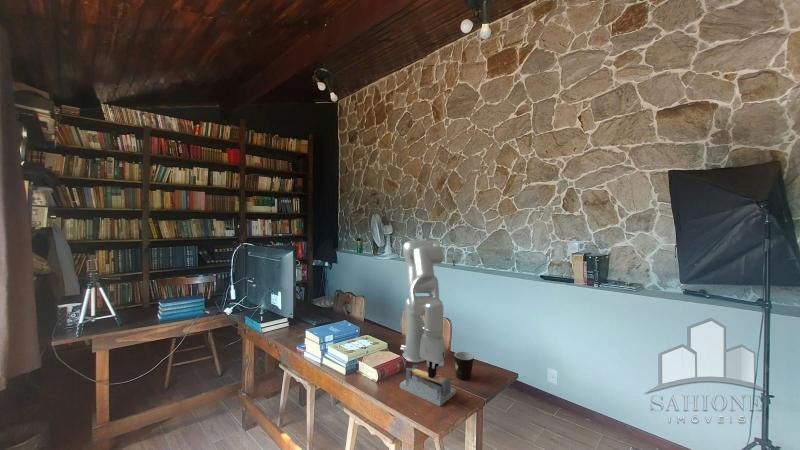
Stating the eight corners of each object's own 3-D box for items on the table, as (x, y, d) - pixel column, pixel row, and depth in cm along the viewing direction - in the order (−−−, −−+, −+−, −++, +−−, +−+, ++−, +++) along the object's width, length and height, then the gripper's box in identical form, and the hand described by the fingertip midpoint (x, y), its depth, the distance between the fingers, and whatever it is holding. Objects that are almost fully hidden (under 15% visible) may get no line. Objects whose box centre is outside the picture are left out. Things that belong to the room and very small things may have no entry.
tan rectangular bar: (408, 373, 142) (408, 369, 142) (413, 370, 145) (413, 366, 145) (442, 385, 132) (442, 381, 132) (446, 382, 134) (446, 378, 134)
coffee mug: (473, 383, 146) (473, 360, 145) (453, 380, 147) (454, 358, 147) (472, 371, 157) (473, 350, 157) (454, 368, 159) (455, 348, 158)
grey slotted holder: (399, 387, 140) (400, 369, 140) (416, 377, 149) (417, 360, 149) (439, 406, 127) (440, 386, 127) (455, 393, 137) (456, 374, 136)
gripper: (413, 330, 138) (412, 373, 138) (444, 339, 128) (442, 386, 129) (423, 326, 144) (422, 367, 144) (454, 334, 134) (452, 379, 135)
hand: (432, 376), depth 136 cm, fingers closed
